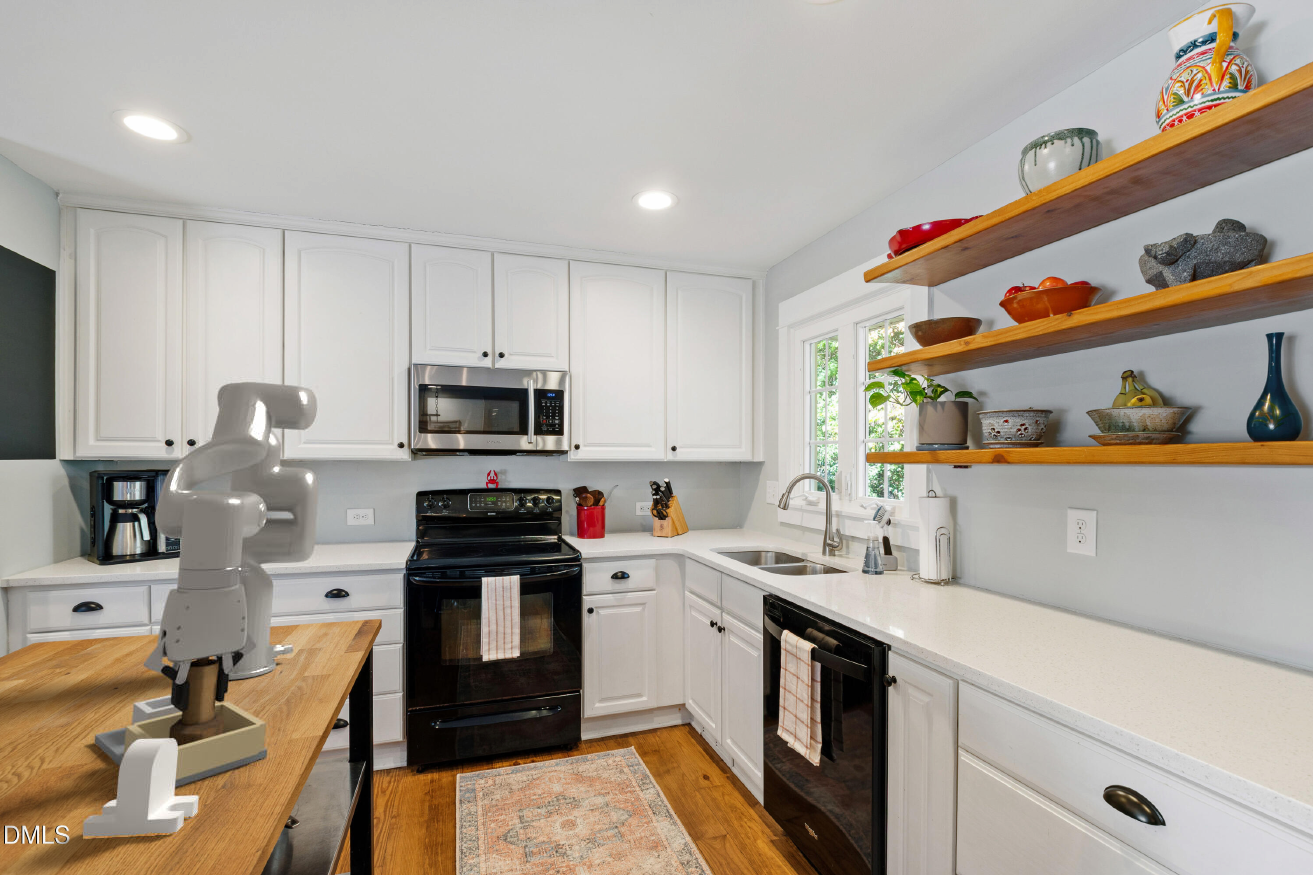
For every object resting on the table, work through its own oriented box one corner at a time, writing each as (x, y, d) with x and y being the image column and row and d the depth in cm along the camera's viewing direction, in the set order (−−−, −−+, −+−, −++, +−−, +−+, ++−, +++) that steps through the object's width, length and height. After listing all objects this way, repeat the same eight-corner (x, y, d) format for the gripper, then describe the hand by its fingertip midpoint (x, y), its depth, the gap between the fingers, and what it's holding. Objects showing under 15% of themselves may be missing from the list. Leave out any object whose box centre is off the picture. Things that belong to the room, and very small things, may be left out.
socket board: (201, 715, 107) (203, 684, 107) (268, 758, 93) (271, 722, 93) (94, 742, 95) (97, 708, 96) (152, 796, 82) (156, 755, 82)
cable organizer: (174, 835, 74) (182, 748, 74) (79, 840, 72) (87, 751, 72) (199, 811, 79) (206, 730, 79) (110, 814, 77) (118, 732, 78)
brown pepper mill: (234, 734, 94) (242, 613, 94) (189, 753, 87) (198, 623, 88) (202, 726, 96) (211, 608, 97) (157, 744, 90) (166, 617, 90)
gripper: (259, 569, 102) (250, 683, 101) (130, 581, 88) (118, 714, 87) (281, 575, 97) (272, 694, 97) (149, 589, 84) (137, 729, 83)
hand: (199, 702), depth 92 cm, fingers closed on brown pepper mill, 3 cm apart
